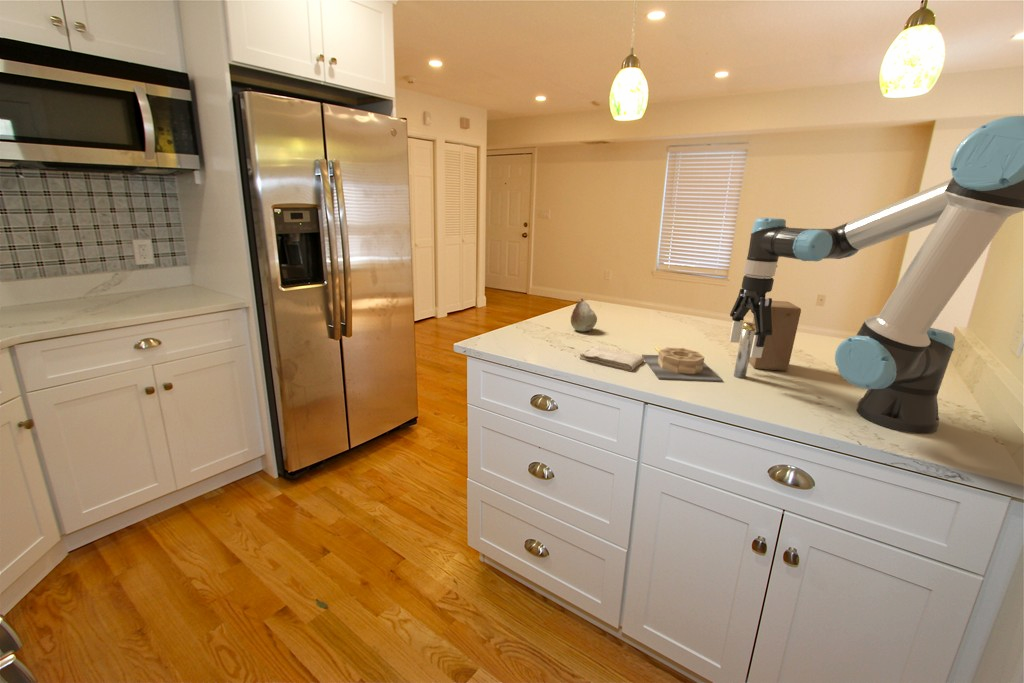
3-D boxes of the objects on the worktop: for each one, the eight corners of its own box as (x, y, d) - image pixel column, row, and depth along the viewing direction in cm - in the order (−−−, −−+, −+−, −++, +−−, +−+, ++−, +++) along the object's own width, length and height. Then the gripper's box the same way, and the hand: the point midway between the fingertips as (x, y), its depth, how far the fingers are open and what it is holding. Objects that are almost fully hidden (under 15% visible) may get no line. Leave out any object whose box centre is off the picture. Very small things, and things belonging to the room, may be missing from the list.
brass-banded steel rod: (747, 378, 133) (758, 325, 128) (736, 378, 133) (746, 325, 128) (742, 374, 136) (752, 322, 131) (731, 374, 136) (741, 322, 131)
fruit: (582, 325, 184) (585, 296, 180) (601, 331, 177) (604, 300, 173) (565, 329, 177) (567, 299, 174) (583, 335, 171) (586, 303, 167)
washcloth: (592, 351, 154) (593, 342, 153) (645, 362, 145) (646, 353, 144) (577, 360, 145) (577, 351, 144) (632, 373, 135) (633, 363, 134)
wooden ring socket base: (722, 381, 130) (725, 366, 128) (658, 379, 130) (660, 364, 129) (697, 358, 149) (699, 345, 148) (641, 356, 149) (643, 342, 148)
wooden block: (788, 372, 139) (803, 308, 133) (753, 369, 141) (766, 305, 135) (777, 361, 148) (790, 301, 143) (744, 358, 150) (755, 298, 144)
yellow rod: (663, 356, 150) (664, 353, 150) (661, 356, 150) (661, 353, 150) (656, 348, 158) (657, 345, 158) (654, 348, 158) (654, 345, 158)
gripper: (798, 285, 114) (780, 365, 120) (751, 269, 138) (738, 337, 144) (767, 283, 114) (751, 363, 120) (726, 268, 138) (714, 336, 144)
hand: (744, 349), depth 132 cm, fingers open, 13 cm apart
